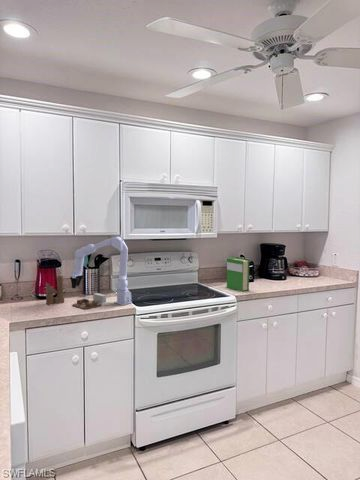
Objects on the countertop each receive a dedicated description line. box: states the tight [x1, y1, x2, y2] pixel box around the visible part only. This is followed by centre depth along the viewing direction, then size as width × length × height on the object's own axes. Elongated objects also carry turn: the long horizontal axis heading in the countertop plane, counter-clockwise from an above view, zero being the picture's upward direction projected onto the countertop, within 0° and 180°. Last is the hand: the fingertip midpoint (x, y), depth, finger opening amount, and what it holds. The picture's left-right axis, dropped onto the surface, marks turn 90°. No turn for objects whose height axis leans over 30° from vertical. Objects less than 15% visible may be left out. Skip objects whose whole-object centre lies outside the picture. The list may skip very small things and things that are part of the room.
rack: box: [72, 298, 103, 311], centre depth 223 cm, size 14×12×3 cm
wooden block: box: [45, 274, 65, 306], centre depth 228 cm, size 4×11×18 cm, turn 124°
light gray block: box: [92, 292, 107, 304], centre depth 234 cm, size 10×3×5 cm, turn 50°
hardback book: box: [226, 257, 250, 293], centre depth 276 cm, size 18×7×24 cm, turn 34°
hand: (75, 286), depth 230 cm, fingers open, 7 cm apart
